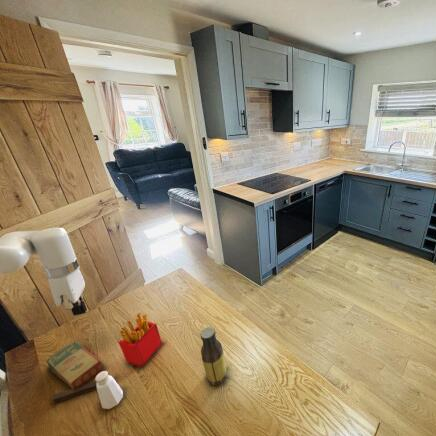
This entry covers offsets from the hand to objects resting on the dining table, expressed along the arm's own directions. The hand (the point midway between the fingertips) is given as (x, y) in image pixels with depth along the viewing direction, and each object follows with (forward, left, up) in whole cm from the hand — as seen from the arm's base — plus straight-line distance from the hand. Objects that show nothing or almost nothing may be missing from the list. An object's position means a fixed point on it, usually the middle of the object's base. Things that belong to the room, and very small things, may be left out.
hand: (80, 312), depth 80 cm
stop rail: (+2, -18, -15) cm, 24 cm away
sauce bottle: (+39, -29, -15) cm, 51 cm away
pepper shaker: (+10, -24, -15) cm, 30 cm away
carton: (-3, -9, -15) cm, 18 cm away
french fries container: (+17, -11, -15) cm, 25 cm away
